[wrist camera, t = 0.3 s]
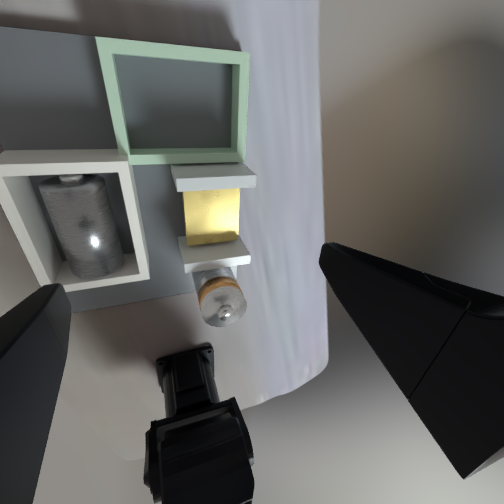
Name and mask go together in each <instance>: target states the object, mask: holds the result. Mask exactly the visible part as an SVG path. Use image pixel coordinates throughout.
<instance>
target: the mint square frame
mask: <svg viewBox="0 0 504 504" xmlns="http://www.w3.org/2000/svg"><path fill="white" fill-rule="evenodd" d="M249 68H250V53H249V52H240V51H231V50H221V49H211V48H202V47H192V46H183V45H173V44H164V43H154V42H144V41H135V40H125V39H116V38H106V37H97V36H87V35H77V34H68V33H58V32H49V31H39V30H30V29H20V28H10V27H1V26H0V144H1V147H2V149H3V152H2V153H0V204H1V206H2V208H3V210H4V212H5V214H6V216H7V218H8V220H9V222H10V224H11V226H12V229H13V231H14V233H15V235H16V237H17V239H18V241H19V243H20V245H21V247H22V249H23V251H24V253H25V255H26V257H27V259H28V261H29V263H30V265H31V267H32V269H33V272H34V274H35V276H36V278H37V280H38V282H39V284H40V286H41V287H42V286H43V285H47V284H54V283H60V284H62V285H63V287H64V289H65V292H66V294H67V296H68V299H69V301H70V304H71V309H72V311H73V313H77V312H83V311H89V310H94V309H100V308H106V307H111V306H117V305H123V304H128V303H134V302H139V301H145V300H151V299H156V298H162V297H168V296H173V295H179V294H185V293H190V292H196V289H195V285H194V281H193V277H192V273H191V272H198V271H204V270H211V269H217V268H223V267H230V268H231V270H232V272H233V274H234V276H235V278H236V269H237V265H243V264H249V263H250V256H251V255H250V253H249V251H248V250H247V248H246V246H245V245H244V243H243V241H242V240H241V238H240V236H239V235H238V240H231V241H223V242H215V243H207V244H199V245H191V246H187V242H186V237H185V226H184V214H183V202H182V192H185V191H201V190H218V189H234V188H250V187H256V174H255V173H254V172H252V171H251V170H250V169H249V168H248V167H247V166H246V165H245V164H244V163H243V162H245V151H246V130H247V110H248V89H249ZM60 174H95V175H99V176H101V177H103V178H104V179H105V183H106V187H107V191H108V195H109V199H110V203H111V207H112V211H113V215H114V220H115V224H116V228H117V232H118V236H119V240H120V244H121V248H122V252H123V256H124V263H123V265H122V266H121V267H120V268H119V269H118V270H116V271H115V272H113V273H111V274H109V275H106V276H103V277H98V278H90V279H87V278H80V277H77V276H75V275H73V274H72V272H71V269H70V267H69V264H68V262H67V259H66V257H65V254H64V251H63V249H62V246H61V244H60V241H59V239H58V236H57V233H56V231H55V228H54V226H53V223H52V221H51V218H50V216H49V213H48V210H47V208H46V205H45V203H44V200H43V198H42V195H41V192H40V190H39V187H38V185H39V184H40V183H41V182H42V181H44V180H47V179H49V178H52V177H56V176H58V175H60Z"/></svg>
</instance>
